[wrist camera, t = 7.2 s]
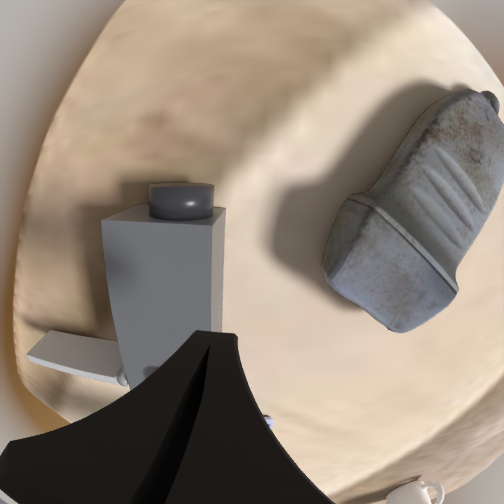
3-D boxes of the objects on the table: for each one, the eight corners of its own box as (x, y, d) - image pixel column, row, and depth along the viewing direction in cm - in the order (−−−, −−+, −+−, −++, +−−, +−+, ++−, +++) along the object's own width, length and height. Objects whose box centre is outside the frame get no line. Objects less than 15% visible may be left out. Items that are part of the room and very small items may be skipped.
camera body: (221, 359, 21) (211, 410, 16) (150, 349, 22) (126, 395, 16) (226, 182, 17) (211, 192, 12) (137, 180, 17) (93, 191, 12)
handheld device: (508, 137, 15) (543, 139, 10) (390, 319, 20) (413, 353, 16) (442, 52, 13) (475, 37, 9) (300, 254, 19) (311, 283, 15)
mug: (426, 468, 30) (441, 509, 20) (444, 468, 31) (458, 504, 22) (377, 498, 34) (386, 536, 24) (399, 497, 35) (408, 531, 25)
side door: (146, 342, 21) (125, 379, 17) (149, 354, 21) (130, 391, 17) (51, 328, 21) (25, 354, 17) (55, 339, 22) (30, 365, 17)
